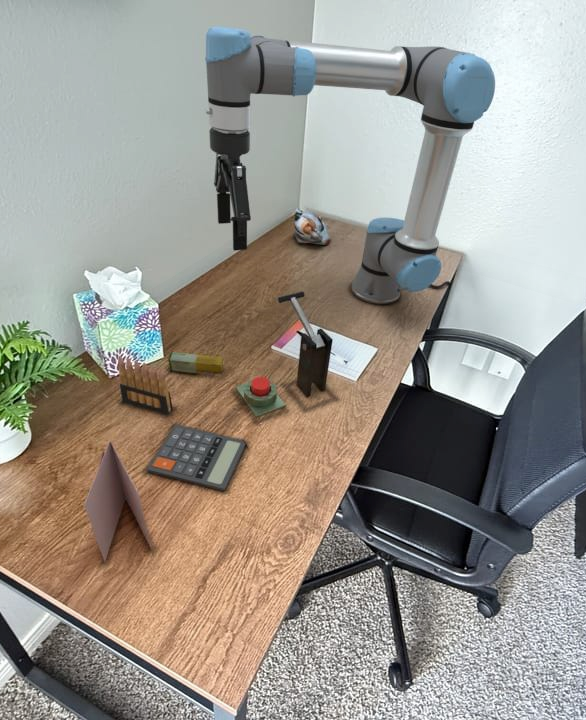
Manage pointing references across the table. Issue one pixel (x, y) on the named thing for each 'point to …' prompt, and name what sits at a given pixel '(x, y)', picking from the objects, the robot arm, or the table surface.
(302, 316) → the lever
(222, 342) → the table surface
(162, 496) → the table surface
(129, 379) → the ammunition clip
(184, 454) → the calculator
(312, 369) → the bracket
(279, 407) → the button block
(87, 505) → the greeting card
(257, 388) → the button
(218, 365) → the medication box
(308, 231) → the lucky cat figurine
